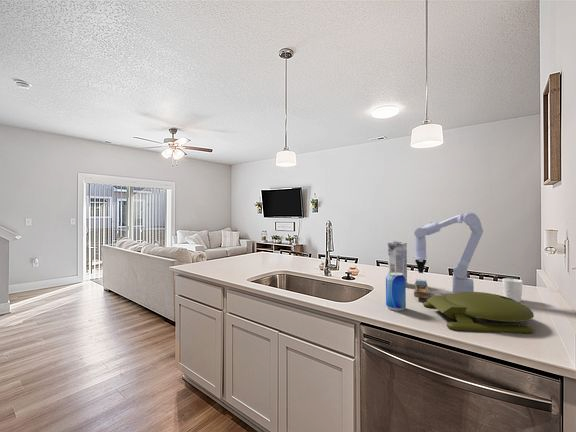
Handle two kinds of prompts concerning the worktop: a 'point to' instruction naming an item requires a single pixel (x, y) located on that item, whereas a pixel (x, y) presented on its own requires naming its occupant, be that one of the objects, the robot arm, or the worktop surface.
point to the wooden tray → (421, 292)
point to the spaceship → (482, 311)
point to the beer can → (395, 291)
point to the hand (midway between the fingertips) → (420, 272)
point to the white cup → (512, 288)
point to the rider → (421, 283)
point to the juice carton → (397, 258)
